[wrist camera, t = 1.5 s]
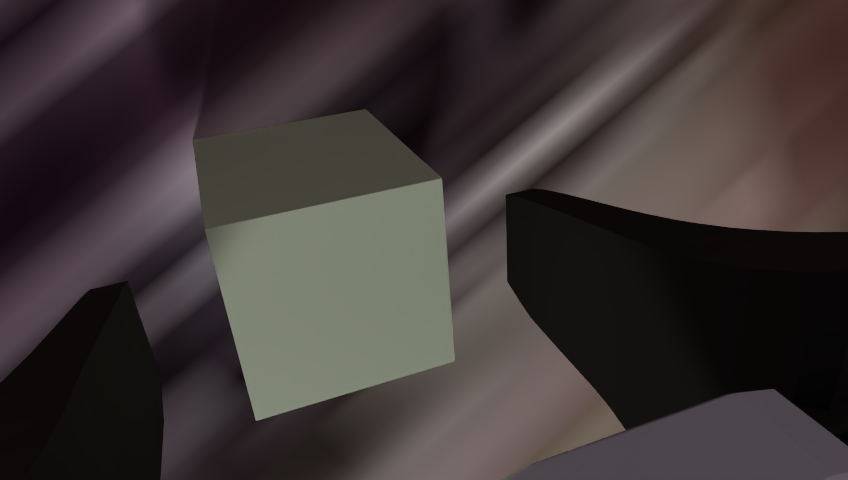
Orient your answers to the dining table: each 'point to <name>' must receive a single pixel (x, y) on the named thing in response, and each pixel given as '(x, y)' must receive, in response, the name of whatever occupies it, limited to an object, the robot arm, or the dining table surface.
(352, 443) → the dining table surface
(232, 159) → the sage brick
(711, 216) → the dining table surface
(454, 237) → the dining table surface
